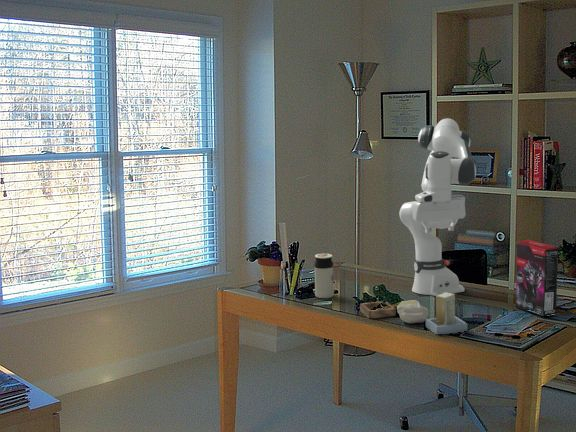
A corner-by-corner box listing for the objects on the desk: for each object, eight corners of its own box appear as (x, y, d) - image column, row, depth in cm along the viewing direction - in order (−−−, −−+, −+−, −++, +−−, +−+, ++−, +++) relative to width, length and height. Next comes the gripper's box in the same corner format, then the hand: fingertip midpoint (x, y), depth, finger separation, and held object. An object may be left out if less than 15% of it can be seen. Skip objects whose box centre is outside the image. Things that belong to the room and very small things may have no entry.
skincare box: (445, 323, 294) (445, 291, 292) (455, 325, 291) (455, 293, 289) (435, 327, 290) (435, 295, 287) (445, 330, 286) (445, 297, 284)
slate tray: (455, 323, 296) (455, 316, 296) (467, 331, 287) (467, 323, 286) (425, 326, 294) (425, 319, 293) (436, 335, 284) (436, 327, 284)
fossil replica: (434, 322, 300) (414, 318, 308) (434, 300, 299) (414, 297, 307) (412, 326, 292) (393, 322, 300) (412, 304, 292) (392, 301, 300)
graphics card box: (513, 307, 314) (515, 240, 310) (527, 305, 317) (529, 238, 312) (543, 319, 299) (545, 248, 294) (557, 316, 301) (559, 246, 297)
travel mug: (312, 297, 338) (311, 256, 334) (320, 292, 345) (319, 252, 341) (329, 299, 334) (328, 258, 331) (336, 294, 341) (335, 254, 338)
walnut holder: (385, 308, 319) (385, 301, 318) (395, 315, 308) (395, 308, 308) (360, 310, 316) (359, 303, 316) (369, 318, 306) (368, 311, 305)
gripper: (461, 192, 300) (461, 228, 303) (411, 195, 296) (411, 232, 298) (468, 194, 294) (468, 231, 297) (417, 198, 290) (417, 235, 292)
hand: (439, 231), depth 297 cm, fingers open, 8 cm apart
